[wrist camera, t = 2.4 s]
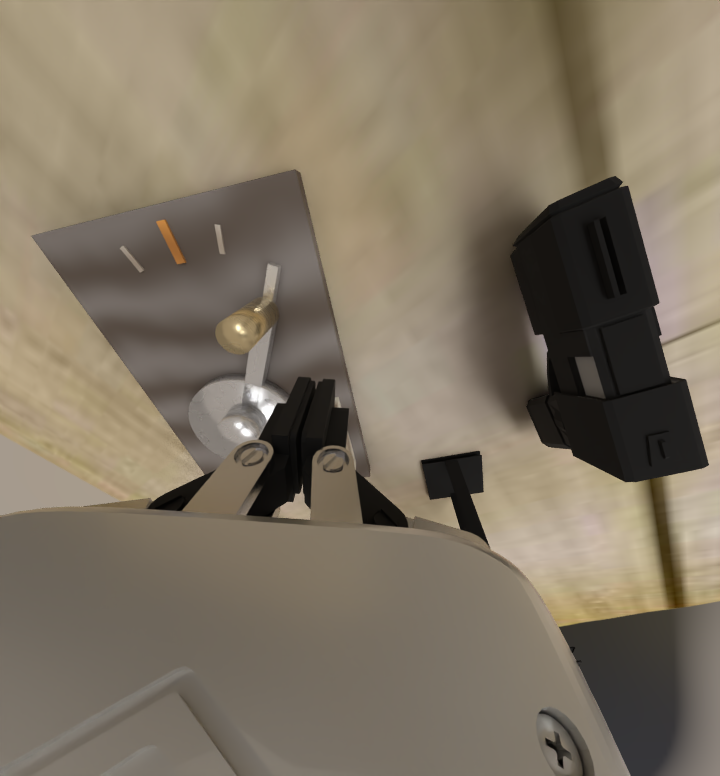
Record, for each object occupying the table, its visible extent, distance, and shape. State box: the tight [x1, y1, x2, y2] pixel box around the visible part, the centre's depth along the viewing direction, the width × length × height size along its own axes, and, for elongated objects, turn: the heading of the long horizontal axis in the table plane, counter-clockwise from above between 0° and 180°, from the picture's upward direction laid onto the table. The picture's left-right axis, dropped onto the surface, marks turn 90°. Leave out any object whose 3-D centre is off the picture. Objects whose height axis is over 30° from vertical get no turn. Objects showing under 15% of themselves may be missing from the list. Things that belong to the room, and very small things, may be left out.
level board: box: [32, 170, 370, 477], centre depth 27 cm, size 32×22×4 cm
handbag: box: [422, 451, 581, 666], centre depth 24 cm, size 10×7×30 cm
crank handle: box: [188, 262, 289, 459], centre depth 24 cm, size 23×12×7 cm, turn 160°
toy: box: [511, 176, 709, 482], centre depth 22 cm, size 5×20×15 cm, turn 23°
